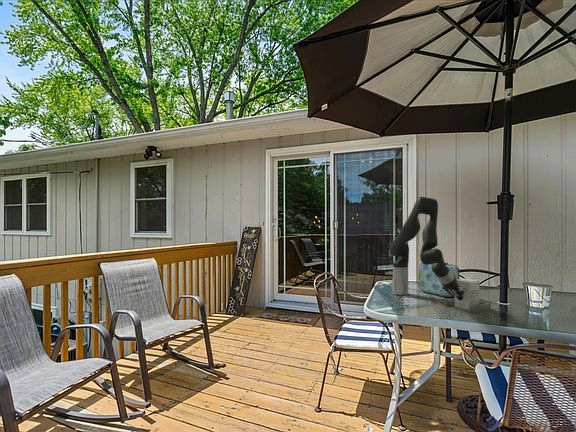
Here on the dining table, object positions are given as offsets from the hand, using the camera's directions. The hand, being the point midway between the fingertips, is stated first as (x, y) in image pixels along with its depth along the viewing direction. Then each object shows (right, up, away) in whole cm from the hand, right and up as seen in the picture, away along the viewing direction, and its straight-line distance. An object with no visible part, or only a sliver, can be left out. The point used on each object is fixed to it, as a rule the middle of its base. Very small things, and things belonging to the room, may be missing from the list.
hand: (460, 299), depth 185 cm
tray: (+5, -5, +3) cm, 8 cm away
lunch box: (+4, -6, +36) cm, 36 cm away
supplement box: (+4, -5, +2) cm, 7 cm away
